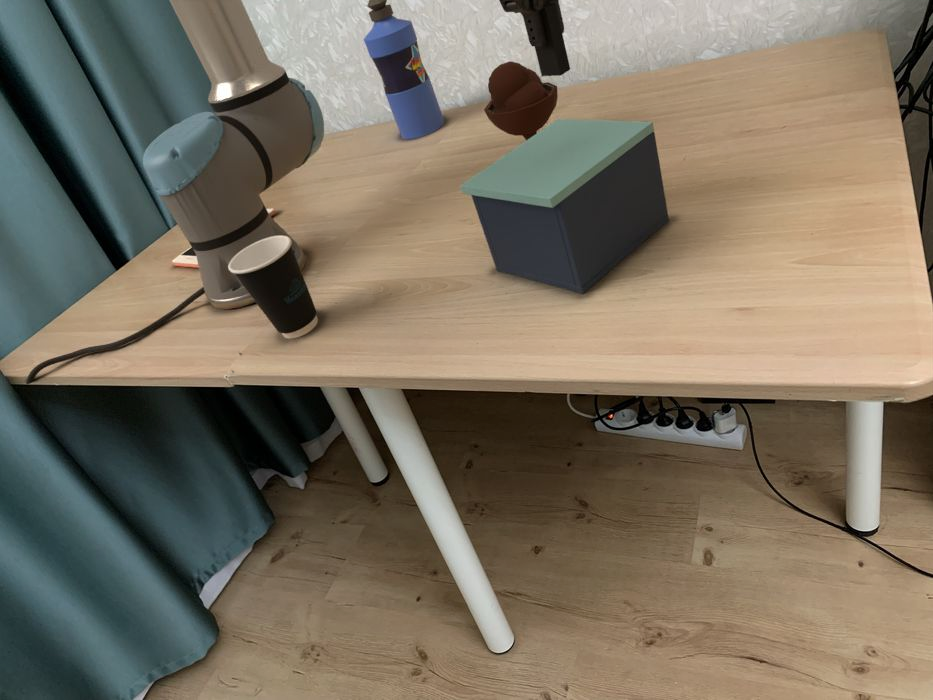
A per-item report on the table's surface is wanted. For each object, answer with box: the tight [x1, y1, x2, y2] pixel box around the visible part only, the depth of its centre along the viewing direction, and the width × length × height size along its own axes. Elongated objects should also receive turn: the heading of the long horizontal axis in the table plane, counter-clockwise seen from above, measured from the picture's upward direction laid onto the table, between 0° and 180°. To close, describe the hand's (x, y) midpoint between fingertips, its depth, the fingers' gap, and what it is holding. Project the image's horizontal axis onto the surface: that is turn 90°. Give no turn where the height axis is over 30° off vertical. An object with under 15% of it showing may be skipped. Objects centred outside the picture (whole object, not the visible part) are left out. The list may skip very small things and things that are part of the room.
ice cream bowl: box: [483, 61, 558, 141], centre depth 103 cm, size 11×11×15 cm
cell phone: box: [171, 208, 277, 269], centre depth 122 cm, size 9×18×1 cm, turn 146°
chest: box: [470, 131, 670, 295], centre depth 79 cm, size 16×14×11 cm
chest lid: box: [459, 118, 655, 208], centre depth 75 cm, size 17×14×1 cm
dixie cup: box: [228, 235, 319, 340], centre depth 85 cm, size 8×8×11 cm
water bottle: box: [363, 0, 445, 140], centre depth 131 cm, size 9×9×25 cm
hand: (555, 72), depth 72 cm, fingers closed
